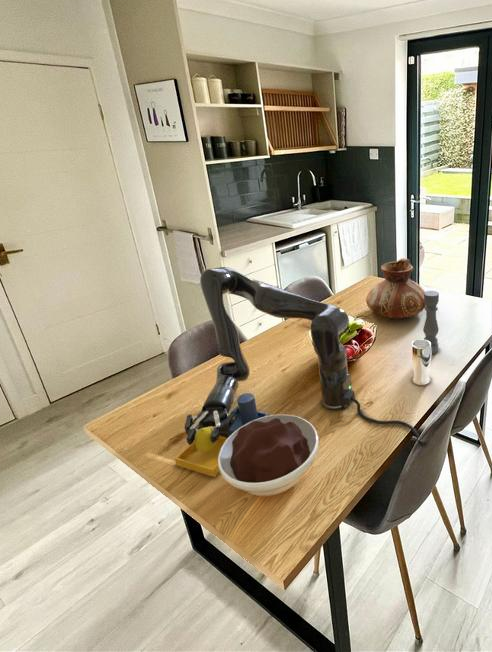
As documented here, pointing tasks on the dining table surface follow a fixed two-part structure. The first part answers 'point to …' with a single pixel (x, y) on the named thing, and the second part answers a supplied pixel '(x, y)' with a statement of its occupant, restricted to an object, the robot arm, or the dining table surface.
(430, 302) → the grey pepper mill
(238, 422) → the blue tray
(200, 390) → the dining table surface
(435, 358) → the dining table surface
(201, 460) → the yellow tray
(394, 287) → the painted clay pot
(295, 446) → the white serving bowl
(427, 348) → the silver metal cylinder
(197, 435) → the lemon
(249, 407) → the blue cylinder
